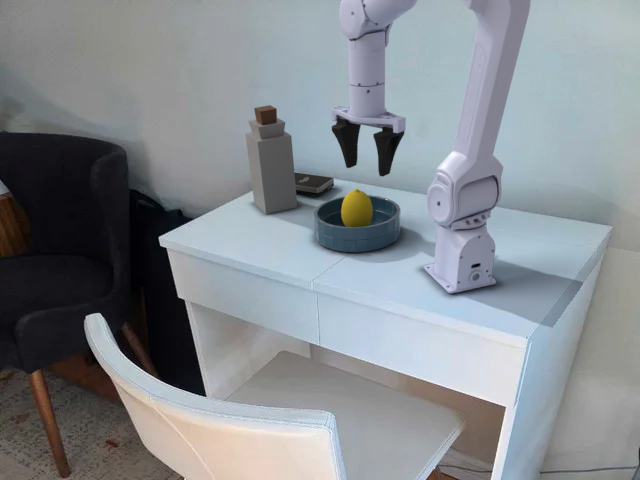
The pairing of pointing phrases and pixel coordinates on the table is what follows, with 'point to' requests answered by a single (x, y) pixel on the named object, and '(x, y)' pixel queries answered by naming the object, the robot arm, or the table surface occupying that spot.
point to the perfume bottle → (271, 162)
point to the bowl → (357, 238)
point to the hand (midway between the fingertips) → (367, 170)
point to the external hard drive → (312, 184)
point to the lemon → (356, 209)
